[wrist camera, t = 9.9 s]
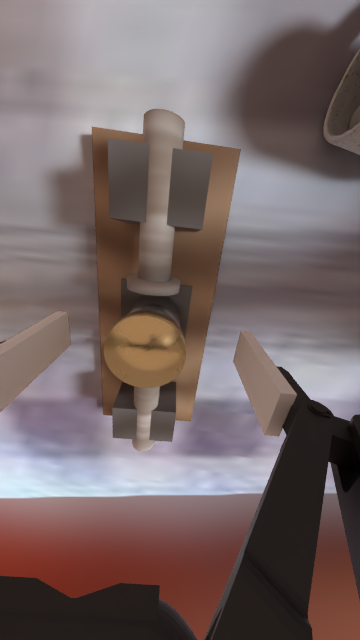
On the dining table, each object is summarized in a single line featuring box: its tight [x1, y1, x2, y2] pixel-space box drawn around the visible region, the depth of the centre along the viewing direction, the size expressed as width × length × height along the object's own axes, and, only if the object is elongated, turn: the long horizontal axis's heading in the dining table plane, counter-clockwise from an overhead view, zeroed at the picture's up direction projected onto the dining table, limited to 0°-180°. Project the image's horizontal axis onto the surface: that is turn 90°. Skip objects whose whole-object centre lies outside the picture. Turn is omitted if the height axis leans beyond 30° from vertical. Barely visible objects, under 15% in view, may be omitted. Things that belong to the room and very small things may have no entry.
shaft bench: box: [92, 109, 241, 452], centre depth 18 cm, size 28×11×7 cm, turn 173°
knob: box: [104, 295, 186, 388], centre depth 16 cm, size 5×5×7 cm
